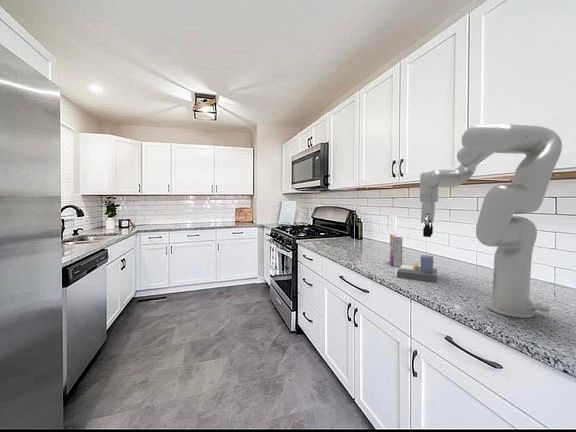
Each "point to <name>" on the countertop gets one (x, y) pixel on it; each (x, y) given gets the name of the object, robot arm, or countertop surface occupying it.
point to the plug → (426, 264)
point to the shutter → (409, 267)
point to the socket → (418, 275)
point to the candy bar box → (396, 250)
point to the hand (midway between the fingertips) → (428, 235)
